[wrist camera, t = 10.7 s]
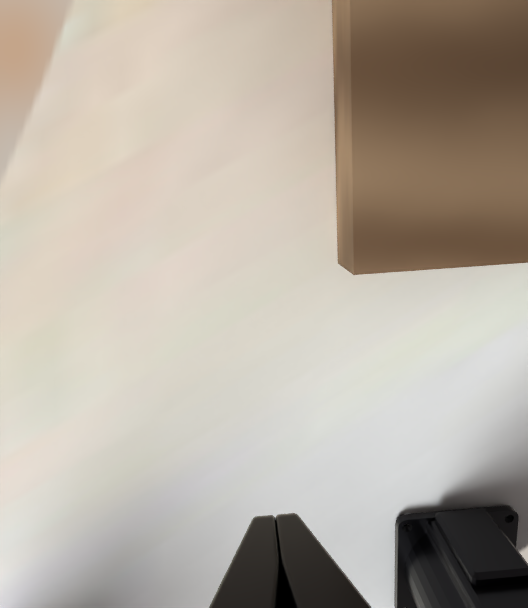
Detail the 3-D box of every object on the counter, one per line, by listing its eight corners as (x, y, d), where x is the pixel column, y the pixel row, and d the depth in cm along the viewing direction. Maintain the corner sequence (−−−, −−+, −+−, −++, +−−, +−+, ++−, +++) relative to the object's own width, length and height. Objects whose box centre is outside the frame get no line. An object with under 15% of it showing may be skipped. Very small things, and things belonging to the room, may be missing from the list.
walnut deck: (591, 245, 21) (647, 254, 18) (337, 263, 21) (353, 274, 18) (632, -111, 18) (710, -171, 15) (330, -98, 17) (347, -157, 14)
